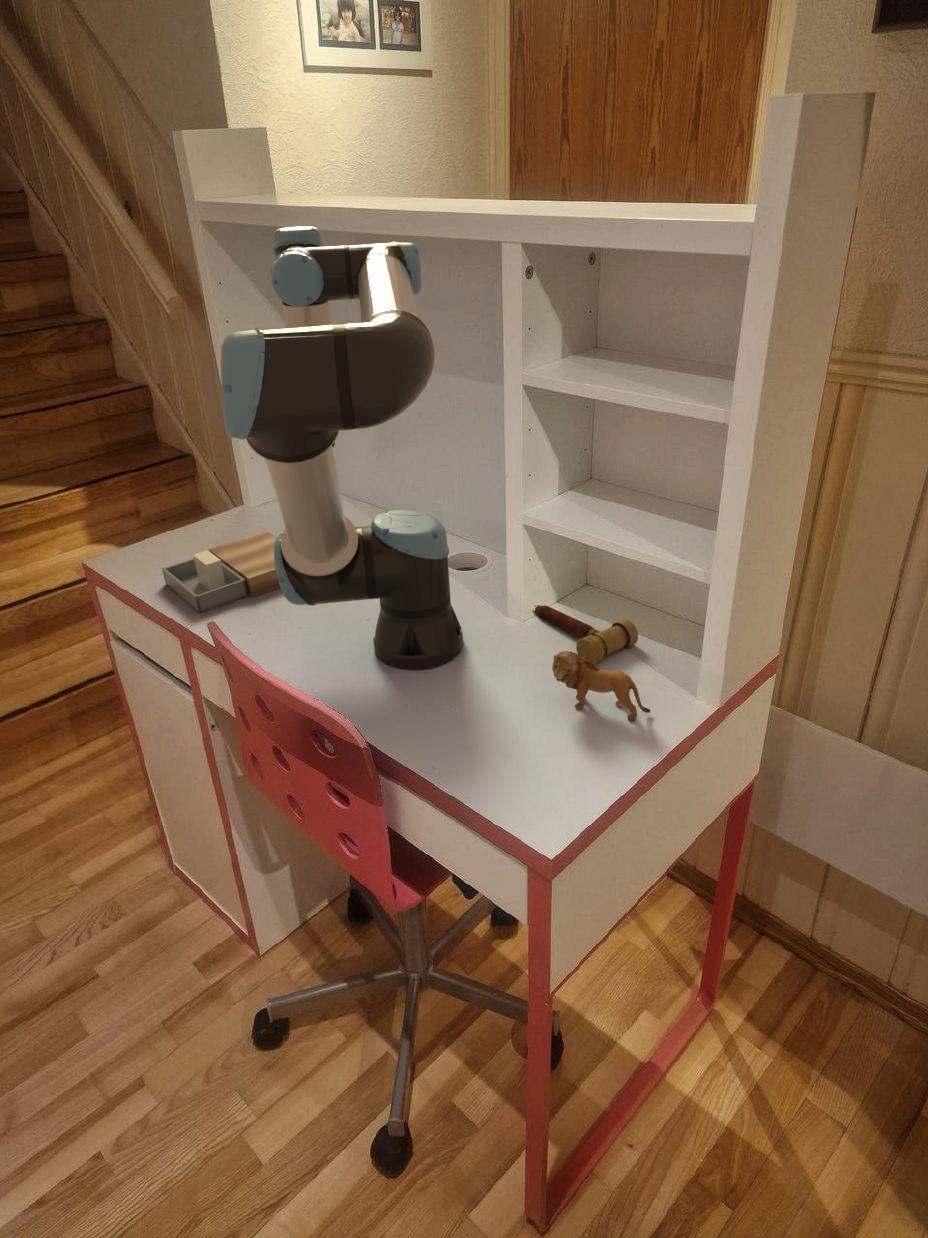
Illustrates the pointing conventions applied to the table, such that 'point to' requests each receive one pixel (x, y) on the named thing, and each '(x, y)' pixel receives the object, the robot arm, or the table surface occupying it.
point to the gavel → (592, 634)
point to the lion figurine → (595, 681)
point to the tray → (195, 594)
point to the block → (209, 570)
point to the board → (251, 561)
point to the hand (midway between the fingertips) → (326, 465)
